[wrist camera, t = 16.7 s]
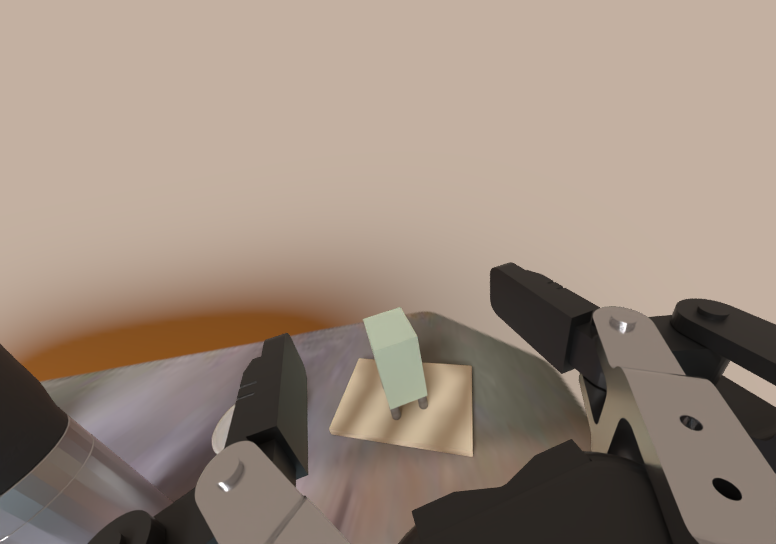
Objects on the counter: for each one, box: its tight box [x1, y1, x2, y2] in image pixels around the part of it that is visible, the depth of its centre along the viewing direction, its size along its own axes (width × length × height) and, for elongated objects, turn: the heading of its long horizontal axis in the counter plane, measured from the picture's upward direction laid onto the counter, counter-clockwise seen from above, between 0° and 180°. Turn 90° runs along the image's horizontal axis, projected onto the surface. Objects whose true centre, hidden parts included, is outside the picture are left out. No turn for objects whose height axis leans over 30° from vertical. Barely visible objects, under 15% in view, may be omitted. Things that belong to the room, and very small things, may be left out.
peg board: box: [329, 359, 473, 457], centre depth 38 cm, size 18×12×4 cm, turn 76°
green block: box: [363, 307, 428, 410], centre depth 34 cm, size 6×5×10 cm
